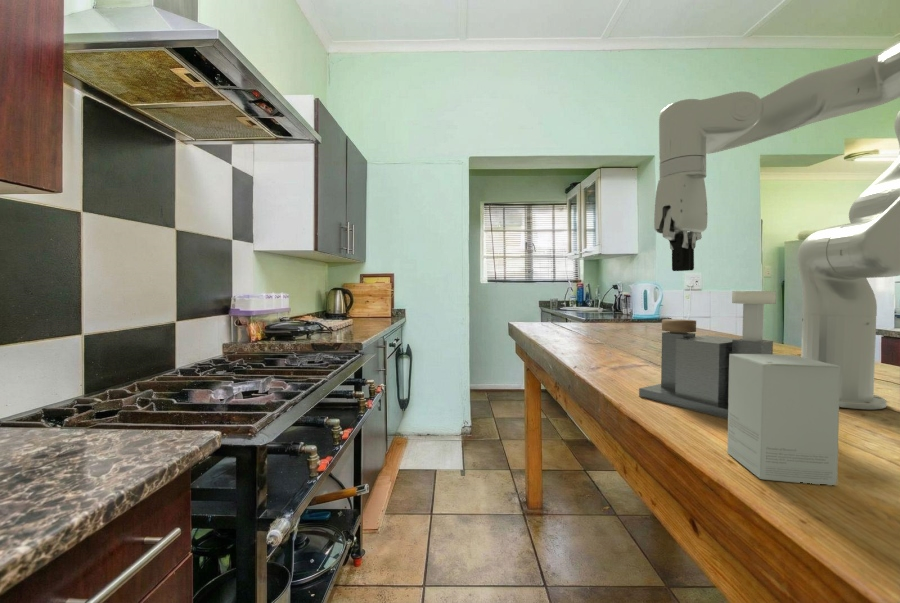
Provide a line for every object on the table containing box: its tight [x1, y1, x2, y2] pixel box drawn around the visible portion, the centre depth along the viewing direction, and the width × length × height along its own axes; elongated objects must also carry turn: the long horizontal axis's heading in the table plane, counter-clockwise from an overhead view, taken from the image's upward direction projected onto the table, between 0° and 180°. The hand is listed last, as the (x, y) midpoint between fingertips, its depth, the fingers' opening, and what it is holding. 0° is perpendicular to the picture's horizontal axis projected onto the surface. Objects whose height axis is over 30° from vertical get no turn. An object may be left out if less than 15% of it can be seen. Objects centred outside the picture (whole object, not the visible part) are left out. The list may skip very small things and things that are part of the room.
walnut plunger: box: [661, 318, 697, 334], centre depth 74 cm, size 6×6×12 cm
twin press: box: [638, 331, 774, 420], centre depth 69 cm, size 13×19×12 cm
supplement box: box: [726, 354, 840, 486], centre depth 44 cm, size 7×7×13 cm
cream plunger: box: [731, 290, 777, 342], centre depth 64 cm, size 6×6×12 cm
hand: (682, 270), depth 74 cm, fingers closed
